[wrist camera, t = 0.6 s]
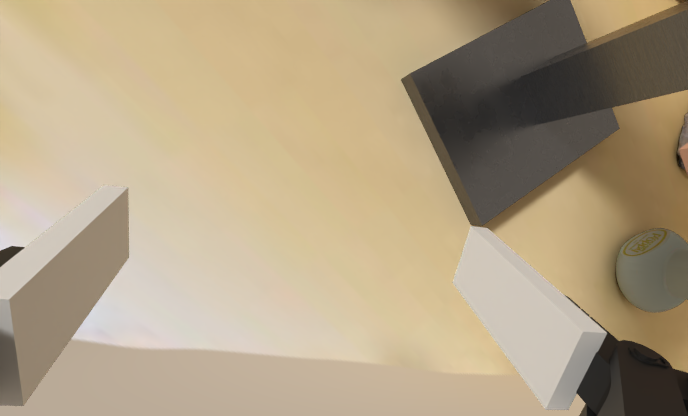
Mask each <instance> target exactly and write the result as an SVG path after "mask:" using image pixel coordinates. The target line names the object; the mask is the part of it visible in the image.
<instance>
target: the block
mask: <svg viewBox="0 0 688 416" xmlns="http://www.w3.org/2000/svg"><path fill="white" fill-rule="evenodd" d="M679 152H680V155H681V158H682V160H683V163H684V166H685V169H686V172H687V174H688V143H686V144H685V145H684V146H683V147H681V148H680V149H679Z"/></svg>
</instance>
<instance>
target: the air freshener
mask: <svg viewBox="0 0 688 416" xmlns="http://www.w3.org/2000/svg"><path fill="white" fill-rule="evenodd" d="M616 278H617V282H618V285H619V287H620V290H621V291H622V293H623V295H624V296H625V297H626V298H627V300H628V301H629V302H630V303H632V304H633V305H634V306H636V307H637V308H639V309H641V310H644V311H647V312H654V313H655V312H663V311H667V310H670V309H672V308H674V307H676V306H678V305H680V304H681V303H682V302H684V301H685V300H686V299H687V300H688V244H687V243H686V241H685V240H684V239H683V238H681V237H680V236H679V235H678V234H676V233H674V232H673V231H670V230H667V229H663V228H657V229H651V230H648V231H645V232H642V233H640V234H638V235H636V236H634V237H632V238H631V239H629V240H628V241H627V242H626V243H625V244H624V245H623V246H622V248H621V250H620V252H619V254H618V257H617V261H616Z"/></svg>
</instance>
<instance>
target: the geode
mask: <svg viewBox="0 0 688 416" xmlns="http://www.w3.org/2000/svg"><path fill="white" fill-rule="evenodd" d="M684 120H685V124H684V126H683V127H682V128H683V130H682V132H681V135H680V140H679V142H680V143H679V147H678V151H677V154H678V156H679V157H680V159H679V166H680V167H681V168H682V169H685V166H684V163H683V160H682V158H681V155H680V152H679V149H680V148H681V147H683V146H684V145H685V144H686V143H688V113H687V114H686V115H685V118H684ZM685 170H686V169H685Z"/></svg>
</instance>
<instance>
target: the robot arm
mask: <svg viewBox="0 0 688 416" xmlns="http://www.w3.org/2000/svg"><path fill="white" fill-rule="evenodd" d="M128 258H129V214H128V187H120V186H111V185H103V186H102V187H100V188H99V189H98V190H97V191H95V192H94V193H93V194H92V195H90V196H89V197H88V198H87V199H85V200H84V201H83V202H82V203H80V204H79V205H78V206H77V207H75V208H74V209H73V210H72V211H70V212H69V213H68V214H67V215H65V216H64V217H63V218H61V219H60V220H59V221H58V222H56V223H55V224H54V225H53V226H51V227H50V228H49V229H48V230H46V231H45V232H44V233H43V234H41V235H40V236H39V237H38V238H36V239H35V240H34V241H33V242H31V243H30V244H29V245H28V246H26V247H15V246H11V247H9V248H6V249H4V250H1V251H0V405H14V406H23V405H24V404H25V403H26V402H27V400H28V399H29V397H30V396H31V395H32V393H33V391H34V390H35V389H36V387H37V386H38V384H39V383H40V382H41V380H42V379H43V378H44V376H45V375H46V373H47V372H48V371H49V369H50V367H51V366H52V365H53V363H54V362H55V360H56V359H57V358H58V356H59V355H60V354H61V352H62V351H63V349H64V348H65V346H66V345H67V344H68V342H69V341H70V340H71V338H72V337H73V335H74V334H75V332H76V331H77V330H78V328H79V327H80V325H81V324H82V323H83V321H84V320H85V318H86V317H87V316H88V314H89V313H90V311H91V310H92V308H93V307H94V306H95V304H96V303H97V301H98V300H99V299H100V297H101V296H102V294H103V293H104V292H105V290H106V289H107V287H108V286H109V285H110V283H111V282H112V280H113V279H114V277H115V276H116V275H117V273H118V272H119V270H120V269H121V268H122V266H123V265H124V263H125V262H126V261H127V259H128ZM453 284H454V285H455V287H456V288H457V290H458V291H459V292H460V294H461V295H462V296H463V298H464V299H465V300H466V302H467V303H468V305H469V306H470V307H471V309H472V310H473V311H474V313H475V314H476V315H477V317H478V318H479V320H480V321H481V322H482V324H483V325H484V326H485V328H486V329H487V331H488V332H489V333H490V335H491V336H492V337H493V339H494V340H495V341H496V343H497V344H498V346H499V347H500V348H501V350H502V351H503V352H504V354H505V355H506V356H507V358H508V359H509V361H510V362H511V363H512V365H513V366H514V367H515V369H516V370H517V372H518V373H519V374H520V376H521V377H522V378H523V380H524V381H525V382H526V384H527V385H528V387H529V388H530V389H531V390H532V392H533V393H534V395H535V396H536V397H537V399H538V400H539V402H540V403H541V404H542V406H543V407H544V408H545V409H546V410H569V408H570V406H571V404H572V402H573V400H574V398H575V396H576V394H578V395H579V396H580V397H581V398H582V399H583V401H584V402H585V403H586V404H585V407H584V408H583V410H582V412H581V414H580V416H688V373H686V372H683V371H679V370H675V369H673V368H672V366H671V365H670V363H669V362H668V361H667V360H666V359H664V358H663V357H662V356H661V355H659V354H658V353H656V352H655V351H653V350H651V349H649V348H647V347H645V346H643V345H641V344H638V343H635V342H632V341H625V340H623V341H618V340H617V339H616V338H615V337H614V336H612V335H611V334H610V333H609V332H608V331H607V330H606V329H604V328H603V327H602V326H601V325H600V324H599V323H597V322H596V321H595V320H594V319H593V318H592V317H589V315H588V314H587V313H586V312H585V311H584V310H583V309H580V307H579V306H578V305H577V304H576V303H574V302H573V301H572V300H571V299H570V298H569V297H567V296H565V295H564V294H562V293H561V292H560V291H559V290H558V289H557V288H555V287H554V286H553V285H552V284H551V283H550V282H549V281H547V280H546V279H545V278H544V277H543V276H542V275H541V274H539V273H538V272H537V271H536V270H535V269H534V268H533V267H531V266H530V265H529V264H528V263H527V262H526V261H525V260H523V259H522V258H521V257H520V256H519V255H518V254H517V253H515V252H514V251H513V250H512V249H511V248H510V247H509V246H507V245H506V244H505V243H504V242H503V241H502V240H501V239H499V238H498V237H497V236H496V235H495V234H494V233H493V232H491V231H490V230H489V229H488V228H484V227H475V226H471V227H470V230H469V233H468V236H467V239H466V243H465V246H464V249H463V252H462V255H461V258H460V261H459V264H458V267H457V271H456V274H455V277H454V280H453Z"/></svg>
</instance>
